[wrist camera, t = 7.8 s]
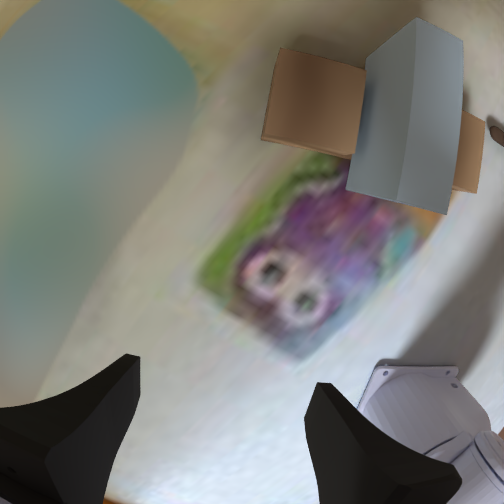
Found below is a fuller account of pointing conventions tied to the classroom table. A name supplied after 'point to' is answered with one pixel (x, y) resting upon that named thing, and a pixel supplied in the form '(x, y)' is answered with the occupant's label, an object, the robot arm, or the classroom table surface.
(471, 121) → the brown u-shaped block
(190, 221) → the classroom table surface
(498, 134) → the brown monkey toy
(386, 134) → the pale grey-blue block
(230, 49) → the classroom table surface
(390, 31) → the classroom table surface
